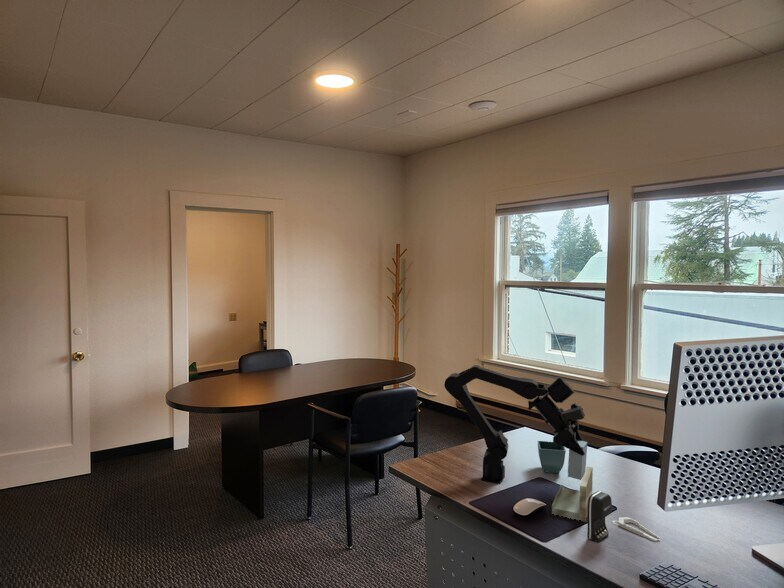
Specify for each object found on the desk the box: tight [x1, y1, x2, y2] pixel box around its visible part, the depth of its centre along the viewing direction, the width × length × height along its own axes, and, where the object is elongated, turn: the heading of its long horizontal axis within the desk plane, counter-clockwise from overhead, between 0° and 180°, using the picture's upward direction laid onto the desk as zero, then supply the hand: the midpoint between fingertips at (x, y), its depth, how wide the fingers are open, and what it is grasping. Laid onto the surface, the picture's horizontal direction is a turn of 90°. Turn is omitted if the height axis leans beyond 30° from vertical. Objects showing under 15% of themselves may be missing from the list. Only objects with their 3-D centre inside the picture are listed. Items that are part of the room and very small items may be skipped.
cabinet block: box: [567, 440, 588, 481], centre depth 161 cm, size 5×6×10 cm
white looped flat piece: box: [611, 516, 661, 542], centre depth 136 cm, size 13×5×2 cm, turn 35°
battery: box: [587, 490, 613, 542], centre depth 132 cm, size 7×4×11 cm, turn 131°
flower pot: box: [537, 440, 567, 474], centre depth 178 cm, size 9×9×9 cm
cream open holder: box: [551, 466, 594, 523], centre depth 149 cm, size 9×16×10 cm, turn 152°
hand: (584, 451), depth 159 cm, fingers closed on cabinet block, 6 cm apart
